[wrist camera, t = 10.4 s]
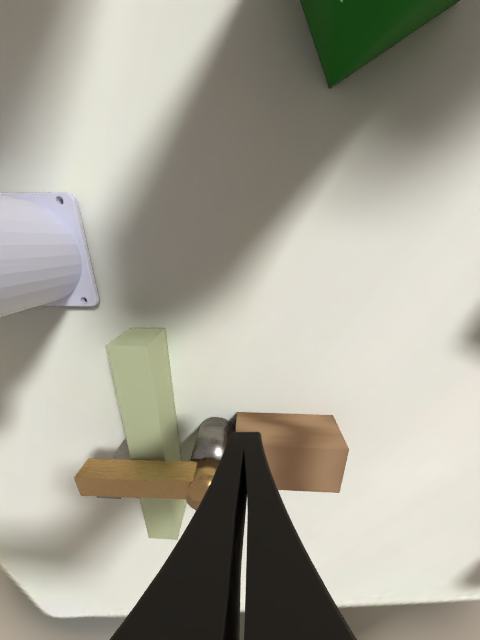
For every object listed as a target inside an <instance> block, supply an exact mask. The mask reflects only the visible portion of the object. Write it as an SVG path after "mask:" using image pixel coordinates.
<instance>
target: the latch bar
mask: <svg viewBox="0 0 480 640" xmlns="http://www.w3.org/2000/svg"><path fill="white" fill-rule="evenodd" d="M219 463H220V461H218V460H216V459H211V458H206V459H202V460H199V461H198V462H193V461H157V460H121V459H88V460H87V461H86V463H85V464H84V465H83V467H82V468H81V469H80V471H79V472H78V473H77V475H76V476H75V477H74V479H75V482H76V484H77V487H78V489H79V492H80V494H81V495H82V496H109V497H136V498H163V499H186V500H187V503H188V504H189V505H190V506H191V507H192V508H193V509H195V510H197V509H198V507H199V505H200V503H201V501H202V499H203V497H204V495H205V493H206V491H207V489H208V487H209V485H210V483H211V481H212V479H213V476H214V474H215V472H216V470H217V467H218V465H219Z"/></svg>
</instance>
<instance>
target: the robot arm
mask: <svg viewBox="0 0 480 640" xmlns="http://www.w3.org/2000/svg"><path fill="white" fill-rule="evenodd" d="M61 198H62V199H63V204H61ZM84 297H85V298H86V299H87V302H86V301H85V300H84ZM98 303H99V297H98V292H97V288H96V283H95V278H94V274H93V269H92V265H91V260H90V256H89V251H88V247H87V242H86V237H85V233H84V228H83V224H82V219H81V215H80V210H79V206H78V201H77V199H76V197H75V196H74V195H73V194H70V193H66V192H48V193H0V317H3V316H7V315H10V314H13V313H17V312H20V311H23V310H26V309H30V308H33V307H36V306H95V305H97V304H98ZM247 499H248V528H247V567H246V600H245V633H244V640H357V639H356V638H355V636H354V635H353V633H352V631H351V630H350V628H349V626H348V624H347V623H346V621H345V619H344V618H343V616H342V615H341V613H340V611H339V609H338V608H337V606H336V604H335V602H334V601H333V599H332V597H331V595H330V594H329V592H328V590H327V588H326V586H325V585H324V583H323V581H322V579H321V577H320V576H319V574H318V572H317V570H316V569H315V567H314V565H313V563H312V561H311V559H310V558H309V556H308V554H307V552H306V550H305V548H304V546H303V544H302V542H301V540H300V538H299V536H298V534H297V532H296V530H295V528H294V526H293V524H292V522H291V519H290V517H289V515H288V513H287V511H286V508H285V506H284V504H283V501H282V499H281V497H280V494H279V492H278V489H277V487H276V484H275V482H274V479H273V476H272V473H271V471H270V468H269V465H268V462H267V458H266V455H265V452H264V448H263V443H262V438H261V433H259V432H231V433H230V434H229V438H228V441H227V444H226V447H225V450H224V453H223V455H222V458H221V460H220V463H219V465H218V467H217V470H216V472H215V474H214V476H213V479H212V481H211V483H210V485H209V487H208V489H207V491H206V493H205V495H204V497H203V499H202V501H201V503H200V505H199V507H198V509H197V510H196V512H195V514H194V516H193V518H192V519H191V521H190V523H189V525H188V526H187V528H186V530H185V531H184V533H183V535H182V536H181V538H180V540H179V541H178V543H177V544H176V546H175V548H174V549H173V551H172V552H171V554H170V556H169V557H168V559H167V560H166V562H165V563H164V565H163V566H162V568H161V569H160V571H159V572H158V574H157V575H156V577H155V578H154V580H153V581H152V582H151V584H150V585H149V587H148V588H147V590H146V591H145V592H144V594H143V595H142V597H141V598H140V599H139V601H138V602H137V604H136V605H135V607H134V608H133V609H132V611H131V612H130V613H129V615H128V616H127V618H126V619H125V620H124V622H123V623H122V624H121V626H120V627H119V628H118V629H117V631H116V632H115V633H114V635H113V636H112V637H111V639H110V640H239V631H240V628H239V627H240V581H241V560H242V548H243V536H244V524H245V512H246V500H247Z"/></svg>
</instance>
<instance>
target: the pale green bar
mask: <svg viewBox="0 0 480 640" xmlns="http://www.w3.org/2000/svg"><path fill="white" fill-rule="evenodd" d="M106 351H107V355H108V359H109V364H110V368H111V373H112V377H113V382H114V386H115V390H116V395H117V399H118V404H119V408H120V413H121V417H122V421H123V426H124V430H125V435H126V439H127V444H128V448H129V452H130V457H131V460H157V461H181V453H180V445H179V437H178V429H177V420H176V412H175V404H174V396H173V388H172V379H171V371H170V363H169V355H168V347H167V338H166V330H165V328H129V329H128V330H127V331H125V332H124V333H122V334H121V335H120V336H118V337H117V338H115V339H114V340H113V341H111V342H110V343H108V344H107V345H106ZM140 501H141V505H142V510H143V514H144V519H145V523H146V528H147V532H148V536H149V538H158V539H174V540H178V536H179V531H180V527H181V523H182V519H183V515H184V511H185V507H186V499H163V498H140Z"/></svg>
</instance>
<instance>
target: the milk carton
mask: <svg viewBox="0 0 480 640" xmlns="http://www.w3.org/2000/svg"><path fill="white" fill-rule="evenodd" d="M300 1H301V4H302V7H303V10H304V13H305V16H306V19H307V22H308V25H309V28H310V31H311V34H312V37H313V40H314V43H315V46H316V49H317V52H318V55H319V58H320V61H321V64H322V67H323V70H324V73H325V76H326V79H327V82H328V85H329V88H331V87H333V86H334V85H336V84H337V83H339V82H340V81H341V80H343V79H344V78H346V77H347V76H349V75H350V74H352V73H353V72H355V71H356V70H358V69H359V68H361V67H362V66H364V65H365V64H367V63H368V62H370V61H371V60H372V59H374V58H375V57H377V56H378V55H380V54H381V53H383V52H384V51H386V50H387V49H389V48H390V47H392V46H393V45H395V44H396V43H398V42H399V41H401V40H402V39H403V38H405V37H406V36H408V35H409V34H411V33H412V32H414V31H415V30H417V29H418V28H420V27H421V26H423V25H424V24H426V23H427V22H429V21H430V20H432V19H433V18H434V17H436V16H437V15H439V14H440V13H442V12H443V11H445V10H446V9H448V8H449V7H451V6H452V5H454V4H455V3H457V2H458V1H460V0H300Z"/></svg>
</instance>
